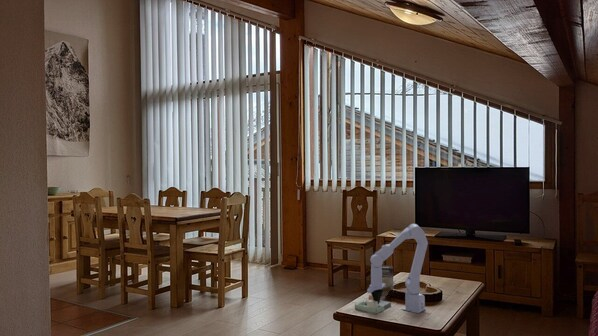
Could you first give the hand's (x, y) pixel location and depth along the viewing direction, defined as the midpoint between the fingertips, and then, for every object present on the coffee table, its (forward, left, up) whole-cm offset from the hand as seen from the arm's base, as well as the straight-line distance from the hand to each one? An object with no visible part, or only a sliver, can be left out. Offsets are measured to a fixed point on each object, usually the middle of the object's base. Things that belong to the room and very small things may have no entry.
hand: (376, 303), depth 262 cm
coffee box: (+10, -25, -3) cm, 27 cm away
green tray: (+3, +3, -3) cm, 5 cm away
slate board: (+3, -5, -3) cm, 6 cm away
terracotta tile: (+5, -7, -1) cm, 9 cm away
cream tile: (0, +2, 0) cm, 2 cm away
